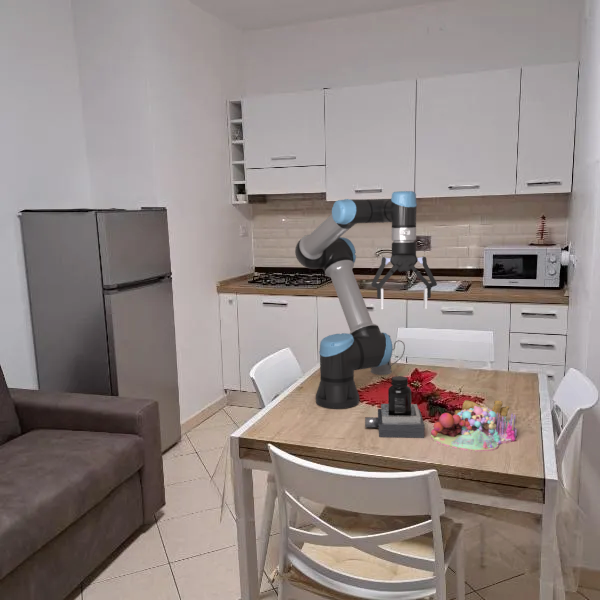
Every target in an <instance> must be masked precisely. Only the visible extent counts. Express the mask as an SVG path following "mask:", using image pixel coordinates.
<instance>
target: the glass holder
mask: <svg viewBox="0 0 600 600" xmlns="http://www.w3.org/2000/svg"><path fill="white" fill-rule="evenodd" d="M389 337H390V338H391V335H389ZM397 342H400V343H402V344H403V345H402V346H403V351H402V354H401V356H400V357H399V358H398V359H397V360H396V361H394V362H393V363H392V361H391V359H392V358H391V359H390V361H389V362H388V363H387V364H385V365H382V366H379V367H373V368H370V373H371V374H373V375H379V376H384V375H385V376H386V375H390V374H392V366H393V365H395V364H396V363H398V362H399V360H401V359H402V358H403V356H404V354H405V350H406V346H405V345H406V344H405V342H404V341H402V340H401V339H400V340H396V341H395V342H394V343H393V350H392V351H395V347H396V344H397Z"/></svg>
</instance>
